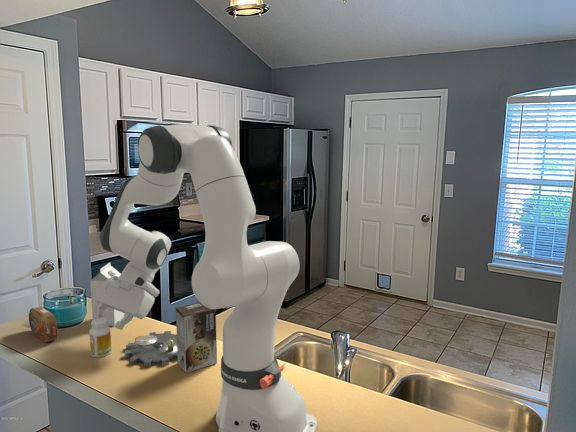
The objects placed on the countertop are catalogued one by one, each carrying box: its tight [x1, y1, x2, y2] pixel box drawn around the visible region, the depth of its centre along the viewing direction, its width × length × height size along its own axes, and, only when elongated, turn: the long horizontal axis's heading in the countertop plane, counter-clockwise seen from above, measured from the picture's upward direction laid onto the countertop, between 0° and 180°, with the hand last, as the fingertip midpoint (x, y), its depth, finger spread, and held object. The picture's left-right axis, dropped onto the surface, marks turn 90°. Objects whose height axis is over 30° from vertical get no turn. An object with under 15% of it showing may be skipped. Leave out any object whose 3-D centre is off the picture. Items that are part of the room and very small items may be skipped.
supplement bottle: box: [88, 318, 112, 358], centre depth 121 cm, size 5×5×10 cm
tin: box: [28, 306, 58, 343], centre depth 130 cm, size 15×3×8 cm, turn 50°
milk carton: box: [89, 262, 125, 327], centre depth 140 cm, size 7×7×19 cm
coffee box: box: [175, 301, 218, 374], centre depth 116 cm, size 9×6×16 cm
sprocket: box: [124, 330, 178, 368], centre depth 124 cm, size 18×18×4 cm
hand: (107, 324), depth 123 cm, fingers open, 8 cm apart
